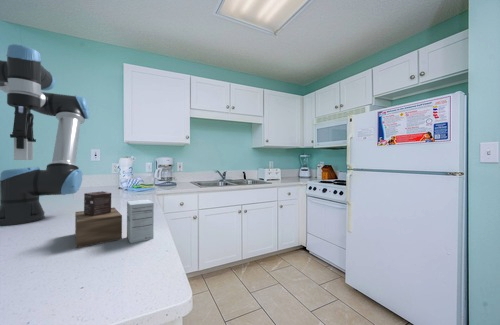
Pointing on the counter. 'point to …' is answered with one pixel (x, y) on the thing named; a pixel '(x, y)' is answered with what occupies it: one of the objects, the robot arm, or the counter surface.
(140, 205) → the supplement box
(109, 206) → the box
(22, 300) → the counter surface
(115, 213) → the walnut stand
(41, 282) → the counter surface
